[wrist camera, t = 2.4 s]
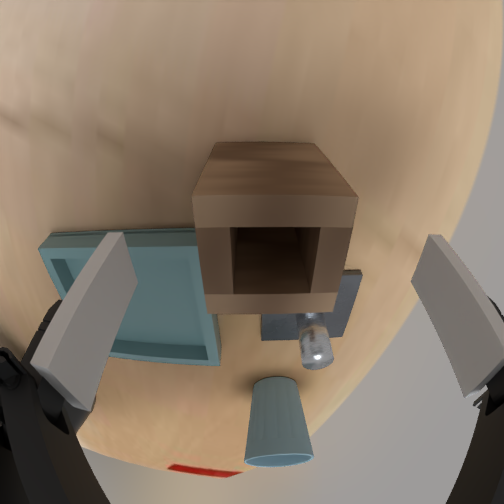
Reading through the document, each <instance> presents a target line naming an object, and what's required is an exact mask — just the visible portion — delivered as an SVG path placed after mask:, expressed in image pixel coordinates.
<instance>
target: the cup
mask: <svg viewBox="0 0 504 504" xmlns="http://www.w3.org/2000/svg"><path fill="white" fill-rule="evenodd" d="M313 458H314V455H313V451H312V446H311V442H310V438H309V434H308V430H307V425H306V421H305V417H304V413H303V408H302V404H301V400H300V396H299V391H298V388H297V384H296V382H295V381H294V380H292V379H290V378H287V377H269V378H265V379H262V380H260V381H258V382H257V383H255V385H254V387H253V395H252V403H251V411H250V420H249V428H248V436H247V444H246V451H245V458H244V462H245V463H246V464H248V465H251V466H257V467H282V466H291V465H297V464H301V463H305V462H308V461H310V460H312V459H313Z"/></svg>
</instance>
